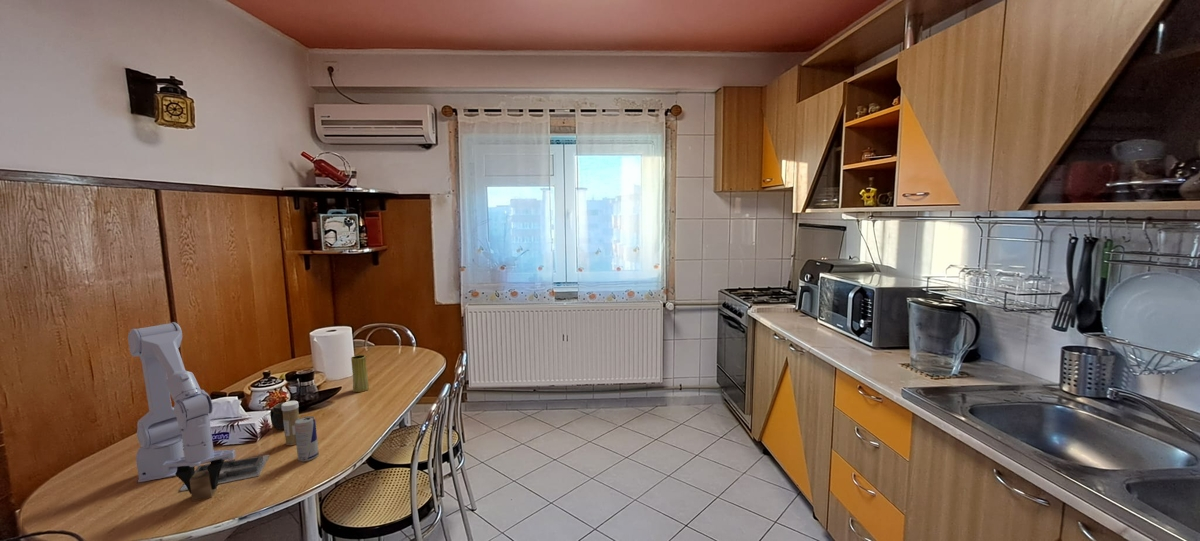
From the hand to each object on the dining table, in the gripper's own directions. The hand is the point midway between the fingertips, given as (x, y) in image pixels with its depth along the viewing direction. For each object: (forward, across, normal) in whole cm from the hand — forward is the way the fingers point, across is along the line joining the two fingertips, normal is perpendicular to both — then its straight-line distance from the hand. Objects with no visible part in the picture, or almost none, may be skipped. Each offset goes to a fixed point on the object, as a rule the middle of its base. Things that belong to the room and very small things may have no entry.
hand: (204, 489), depth 124 cm
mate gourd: (+2, +11, +39) cm, 41 cm away
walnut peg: (+2, 0, 0) cm, 2 cm away
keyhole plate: (+2, +3, +11) cm, 12 cm away
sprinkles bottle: (+2, +16, +24) cm, 29 cm away
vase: (+2, +33, +66) cm, 74 cm away
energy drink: (+2, +22, +11) cm, 25 cm away
